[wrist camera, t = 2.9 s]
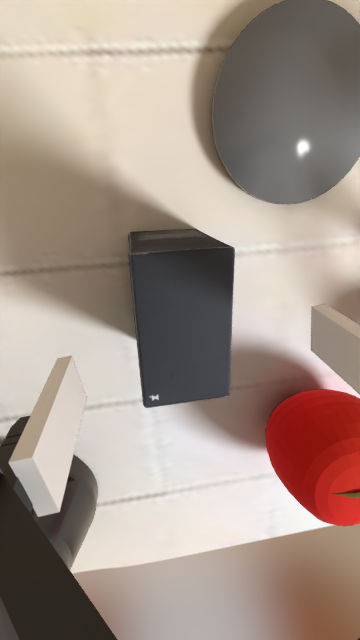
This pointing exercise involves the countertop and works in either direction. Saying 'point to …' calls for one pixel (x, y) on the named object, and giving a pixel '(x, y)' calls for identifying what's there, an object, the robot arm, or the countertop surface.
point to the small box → (182, 314)
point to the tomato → (319, 452)
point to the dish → (290, 102)
